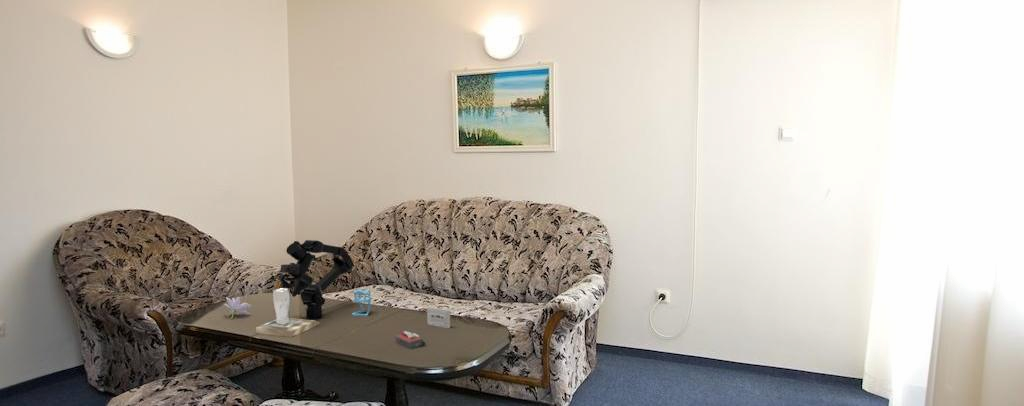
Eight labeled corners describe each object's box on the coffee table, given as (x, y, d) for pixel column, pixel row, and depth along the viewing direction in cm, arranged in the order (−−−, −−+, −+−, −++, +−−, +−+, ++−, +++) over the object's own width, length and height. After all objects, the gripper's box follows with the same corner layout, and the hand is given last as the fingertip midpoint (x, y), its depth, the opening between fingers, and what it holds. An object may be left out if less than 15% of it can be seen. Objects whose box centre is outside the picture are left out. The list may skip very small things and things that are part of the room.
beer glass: (279, 327, 249) (277, 292, 248) (271, 324, 254) (269, 290, 252) (294, 323, 254) (293, 289, 253) (287, 320, 259) (285, 287, 258)
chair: (374, 311, 282) (373, 287, 281) (367, 316, 274) (366, 291, 273) (359, 311, 283) (358, 286, 282) (351, 315, 275) (350, 290, 274)
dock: (286, 321, 268) (285, 313, 267) (319, 324, 262) (319, 316, 262) (256, 333, 250) (255, 324, 250) (291, 337, 244) (290, 328, 244)
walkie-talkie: (430, 345, 232) (405, 333, 248) (429, 334, 232) (404, 323, 247) (410, 350, 227) (386, 338, 242) (410, 339, 226) (386, 327, 242)
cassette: (451, 327, 255) (450, 310, 255) (448, 328, 254) (448, 311, 253) (429, 323, 261) (428, 306, 261) (426, 324, 260) (426, 307, 259)
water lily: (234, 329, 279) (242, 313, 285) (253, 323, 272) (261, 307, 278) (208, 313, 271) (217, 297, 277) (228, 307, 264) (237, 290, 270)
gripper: (277, 257, 266) (260, 288, 258) (301, 255, 255) (284, 287, 247) (296, 268, 273) (280, 299, 265) (320, 267, 262) (304, 299, 254)
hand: (287, 296), depth 258 cm, fingers open, 9 cm apart
